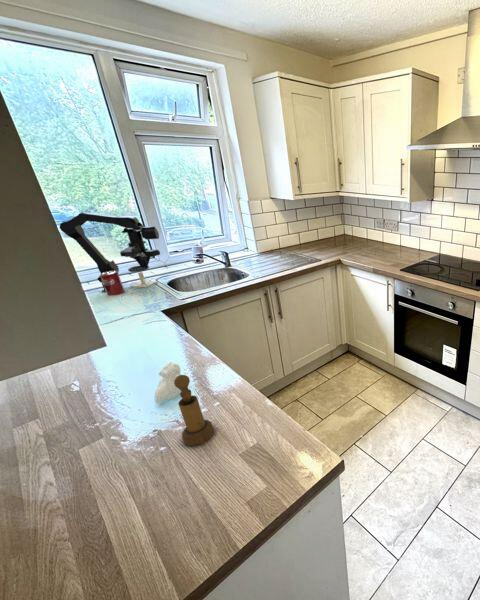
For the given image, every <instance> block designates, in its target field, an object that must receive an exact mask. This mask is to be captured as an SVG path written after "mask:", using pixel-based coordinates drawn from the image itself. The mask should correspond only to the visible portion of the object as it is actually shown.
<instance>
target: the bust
mask: <svg viewBox="0 0 480 600" xmlns="http://www.w3.org/2000/svg"><path fill="white" fill-rule="evenodd" d="M180 375H182V373H181V367H180V365H179V363H174V362H173V361H171V362H169V363H168V364H166V365H164V366H163V367H162V370H161V371H160V372H158V376H159V377H161V378H160V380H159V381H158V385H157V388H156V390H155V392H154V402H155V403H156V404H157V405H162V404H164V403H165V402H167V401H169V400H172V399H175V398H177V397H178V396H180V393H181V390H180V389H179V388H177V387H176V386H175V385H174V380H175V378H176V377H178V376H180Z"/></svg>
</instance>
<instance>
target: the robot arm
mask: <svg viewBox="0 0 480 600" xmlns="http://www.w3.org/2000/svg"><path fill="white" fill-rule="evenodd" d="M87 222H94V223H102V224H111V225H116V226H118V227H121V228H123V230H122V231H121V233H122V234H127V236H128V240H129V242H128V244H127V246H128V247H125V248H124V249H123V250H120V252H119V255H120V257H125V258H130V259H132V260H135V262H137V263H138V266H141V267H142V268H143V267H145V268H148V266H149V264H150V260H151V258H154V257H157V256H160V255H161V251H160V250H159V249H149V248H146V245H145V244H146V243H147V242H146V241H147V240H159V239H160V233H159V231H158V228H156V226H155V225H152V226H145V225H144V224H143V223H141V222H140V220H139V219H138V218H137V217H136V216H134V215H120V216H115V215H110V214H109V215H108V214H100V213H93V212H87V211H82V212H80V213H78V214H77V215H76V216H74V217H72V218H71V219H69V220H65V221H62V222H60V224H59V229H60V231H61V232H62V233H64V234H65V235H66V236H67V237H69V238H71V239H73V240H74V241H75V242H76V243H77V244H78V245H79V246H80V247H81V249H83V250H84V251H85V253H86V254H87V255H88V256H89V258H91V260H92V261H93V262H94V263H95V264H96V266H97V269H98V271H99V273H100V274H101V273H104V272H108V271H117V272H118V273H119V272H120V269H119V265H117V263H115V261H114V260H113V259H112V260H111V261H110V260H108V259H107V258H105V256H104V255H103V254H102V252H100V250H99V249H98V248H97V247H96V246H95V244H94V243H93V242H92V241H91V240H90V239H89V238H88V237H87V236H86V234H85V229H84V228H83V225H84V224H85V223H87ZM145 240H146V241H145ZM148 269H149V268H148ZM97 280H98V282H99V283H101V285H102V288H103V290H101V293H106V290H105V287H104V285H103V282H102V279H101V277H100V275H99V276H98V277H97Z"/></svg>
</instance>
